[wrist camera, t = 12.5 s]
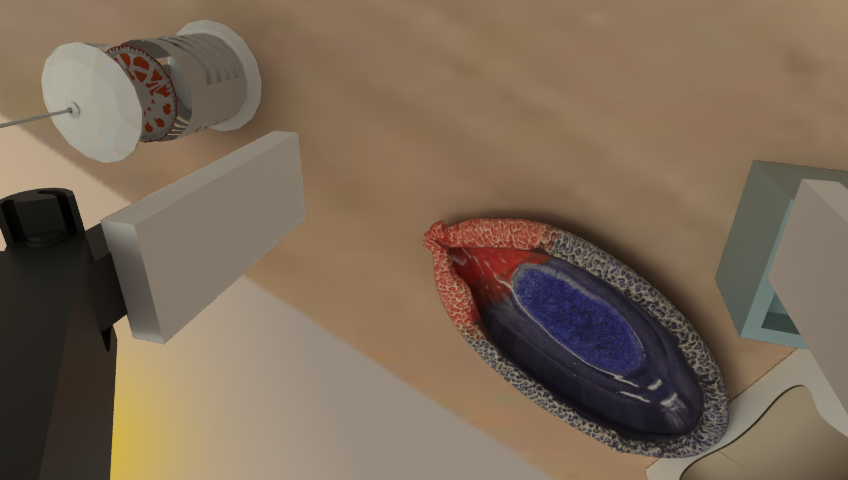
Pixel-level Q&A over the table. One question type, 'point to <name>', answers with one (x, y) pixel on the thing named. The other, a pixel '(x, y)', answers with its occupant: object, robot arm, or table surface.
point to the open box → (763, 251)
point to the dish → (581, 335)
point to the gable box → (775, 431)
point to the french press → (149, 89)
